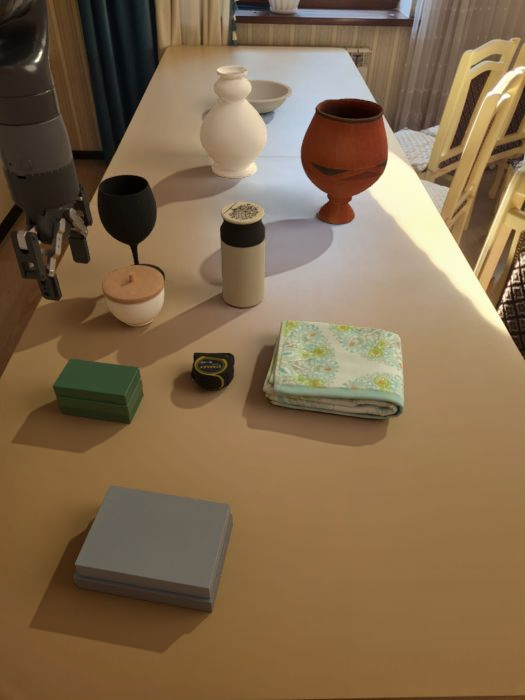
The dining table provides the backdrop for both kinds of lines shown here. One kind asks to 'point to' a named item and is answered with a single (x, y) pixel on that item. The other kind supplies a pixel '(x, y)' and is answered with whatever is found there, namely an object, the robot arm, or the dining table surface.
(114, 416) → the green books
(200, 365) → the tape measure
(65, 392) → the green book
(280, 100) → the soup bowl
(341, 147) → the goblet
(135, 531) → the grey books
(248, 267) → the travel mug
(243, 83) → the decorative vase
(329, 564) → the dining table surface
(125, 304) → the trinket box
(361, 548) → the dining table surface
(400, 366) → the towel
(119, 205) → the wine glass
